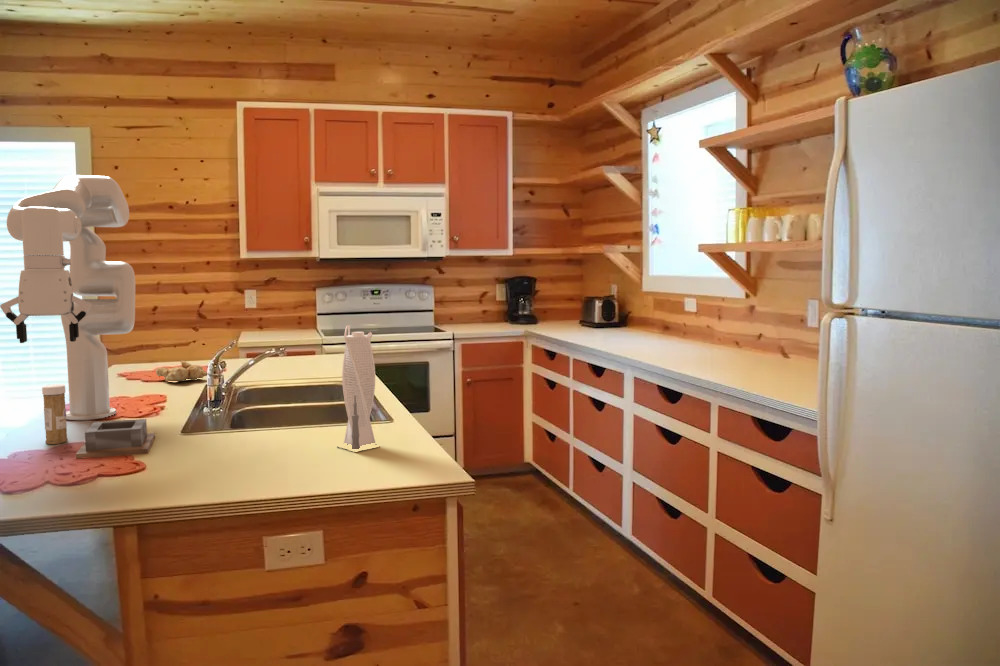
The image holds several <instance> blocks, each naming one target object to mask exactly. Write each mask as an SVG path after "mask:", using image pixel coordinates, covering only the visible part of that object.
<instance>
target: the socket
mask: <svg viewBox="0 0 1000 666" xmlns="http://www.w3.org/2000/svg"><path fill="white" fill-rule="evenodd" d="M155 438H156V433H155V432H148V427H147V418H142V419H140V418H139V419H126V420H125V419H124V420H109V421H93V422H92V424H91V425H90V426H89V427H88V428H87V429H86V431H85V432H84V443H83V444H82V446H81V447H80V448H79V449H78V451H76V453H75V459H76V458H79V459H83V458H82V457H93V458H103V457H104V458H106V457H114V456H115V457H116V456H117V457H119V455H121V456H131V455H132V456H133V455H147V454H148V453H149V451H150V450H151V447H152V445H153V443H154V441H155Z"/></svg>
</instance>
